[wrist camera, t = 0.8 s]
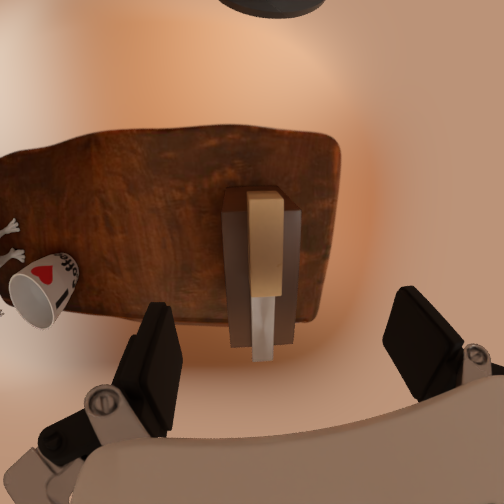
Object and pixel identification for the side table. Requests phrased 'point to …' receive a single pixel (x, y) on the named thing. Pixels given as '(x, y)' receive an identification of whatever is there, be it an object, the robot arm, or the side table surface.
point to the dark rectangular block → (239, 270)
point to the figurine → (12, 254)
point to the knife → (264, 267)
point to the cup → (44, 289)
